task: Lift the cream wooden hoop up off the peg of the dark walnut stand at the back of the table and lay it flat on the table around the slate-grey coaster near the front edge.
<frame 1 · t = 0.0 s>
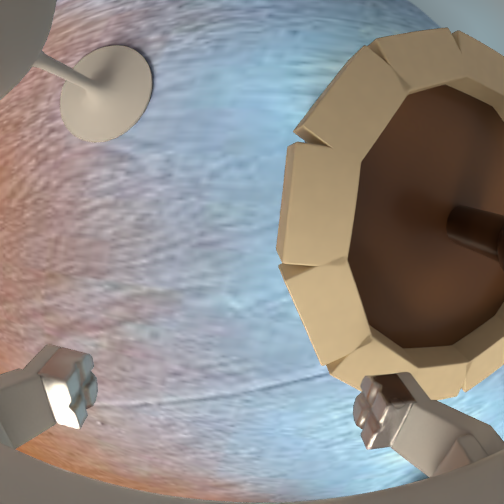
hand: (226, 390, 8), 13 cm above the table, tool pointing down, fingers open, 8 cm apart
hoop: (460, 224, 11), point 10 cm above the table, touching rack
rack: (370, 199, 20), on the table
wineglass: (104, 93, 18), on the table
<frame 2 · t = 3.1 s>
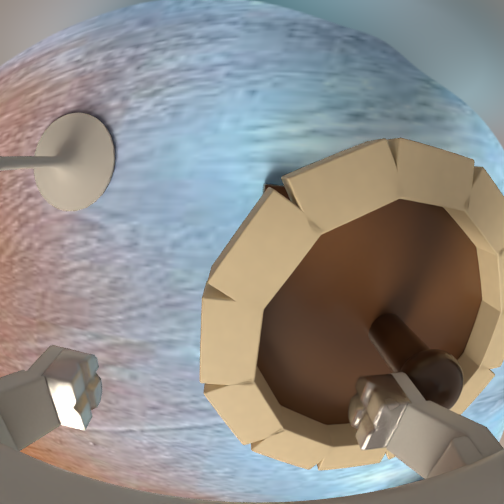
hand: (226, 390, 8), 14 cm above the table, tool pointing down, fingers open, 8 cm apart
hoop: (385, 330, 12), point 10 cm above the table, touching rack
rack: (326, 262, 22), on the table
wineglass: (73, 161, 19), on the table
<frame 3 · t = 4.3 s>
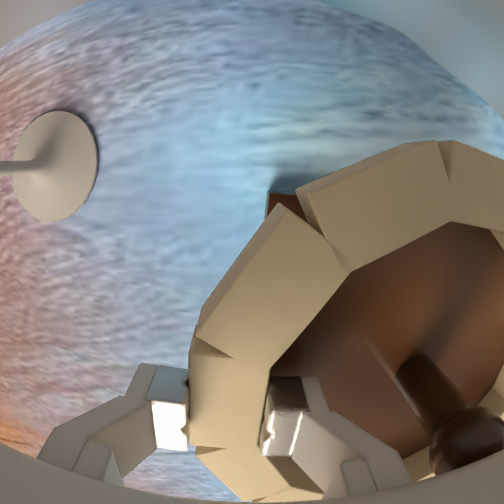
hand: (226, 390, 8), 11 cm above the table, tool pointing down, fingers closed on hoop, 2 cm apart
hoop: (413, 373, 10), point 10 cm above the table, touching gripper, rack
rack: (338, 281, 19), on the table
wineglass: (53, 165, 17), on the table
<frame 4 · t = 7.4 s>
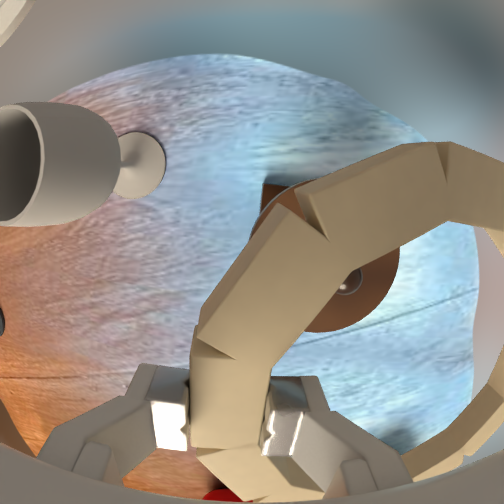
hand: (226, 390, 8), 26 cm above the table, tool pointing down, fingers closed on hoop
tomato: (233, 495, 45), on the table
hoop: (410, 370, 10), point 25 cm above the table, touching gripper
rack: (303, 235, 34), on the table
wineglass: (134, 165, 31), on the table
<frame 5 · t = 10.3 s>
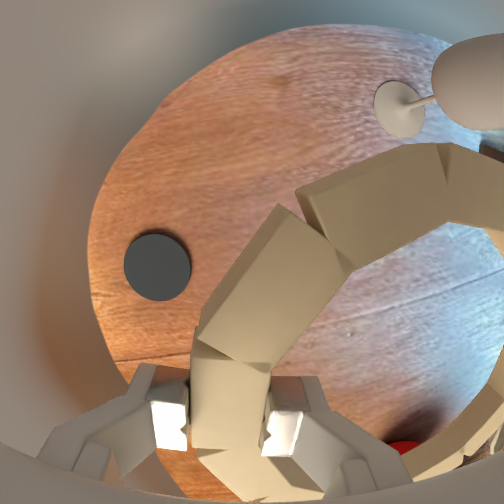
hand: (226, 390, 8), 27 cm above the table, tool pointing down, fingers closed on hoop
coaster: (157, 267, 35), on the table
hoop: (410, 370, 10), point 26 cm above the table, touching gripper
rack: (498, 186, 34), on the table
wineglass: (399, 109, 32), on the table
bowl: (492, 403, 46), on the table
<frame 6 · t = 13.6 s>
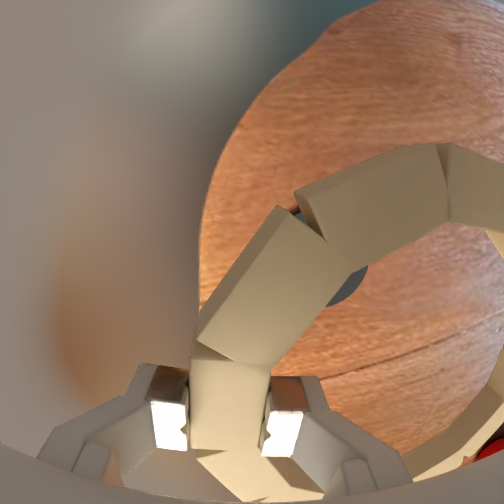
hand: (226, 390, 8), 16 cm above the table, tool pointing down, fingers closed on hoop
tomato: (488, 450, 35), on the table
coaster: (319, 257, 24), on the table
hoop: (409, 371, 10), point 15 cm above the table, touching gripper
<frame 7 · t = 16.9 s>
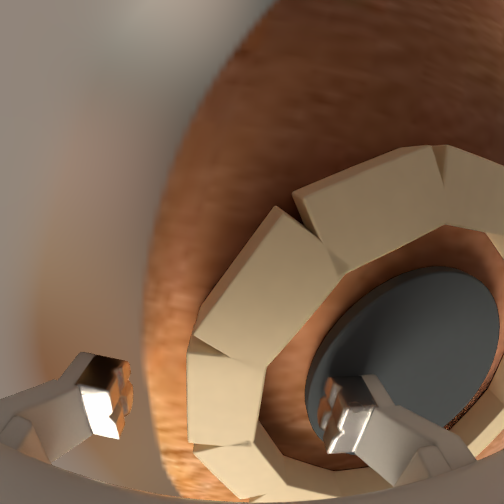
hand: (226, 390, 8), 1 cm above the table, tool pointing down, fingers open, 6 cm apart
coaster: (411, 371, 10), on the table
hoop: (408, 374, 10), on the table
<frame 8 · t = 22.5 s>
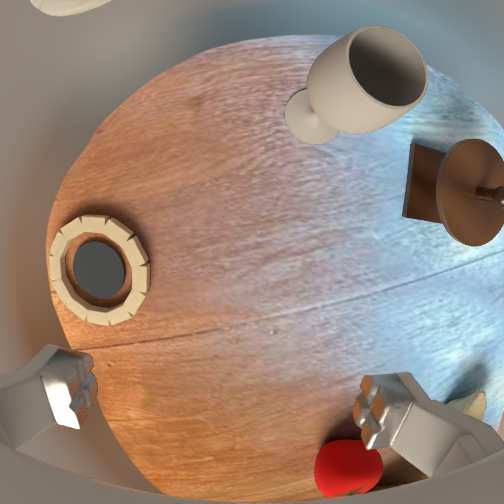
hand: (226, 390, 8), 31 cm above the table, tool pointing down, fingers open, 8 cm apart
planter: (374, 496, 57), on the table
tomato: (339, 448, 50), on the table
coaster: (99, 269, 39), on the table
hoop: (98, 269, 39), on the table
rack: (435, 186, 38), on the table
wineglass: (313, 116, 36), on the table
bowl: (451, 406, 50), on the table
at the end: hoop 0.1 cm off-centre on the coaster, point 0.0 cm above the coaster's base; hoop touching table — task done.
